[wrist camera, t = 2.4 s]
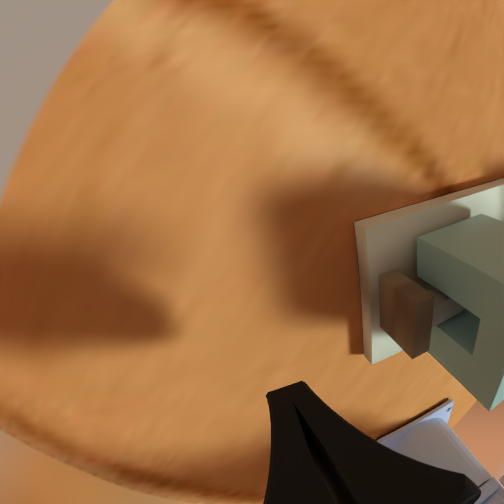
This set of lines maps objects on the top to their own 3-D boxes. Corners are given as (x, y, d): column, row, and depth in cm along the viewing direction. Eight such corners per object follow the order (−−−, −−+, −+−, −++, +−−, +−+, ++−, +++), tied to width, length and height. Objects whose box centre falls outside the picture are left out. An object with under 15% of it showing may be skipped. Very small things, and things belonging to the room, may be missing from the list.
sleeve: (473, 306, 16) (546, 359, 10) (414, 338, 16) (489, 411, 10) (481, 213, 14) (576, 253, 8) (416, 237, 14) (525, 296, 8)
